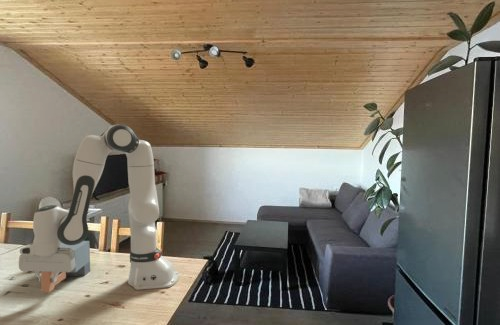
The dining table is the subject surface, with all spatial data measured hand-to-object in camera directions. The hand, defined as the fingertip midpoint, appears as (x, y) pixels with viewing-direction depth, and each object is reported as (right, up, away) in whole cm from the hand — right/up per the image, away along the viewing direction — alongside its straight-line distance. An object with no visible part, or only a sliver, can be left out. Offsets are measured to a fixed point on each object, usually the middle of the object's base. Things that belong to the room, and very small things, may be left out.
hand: (47, 281), depth 117 cm
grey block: (-7, -6, +21) cm, 23 cm away
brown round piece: (-7, -7, +17) cm, 20 cm away
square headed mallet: (0, -3, +5) cm, 6 cm away
